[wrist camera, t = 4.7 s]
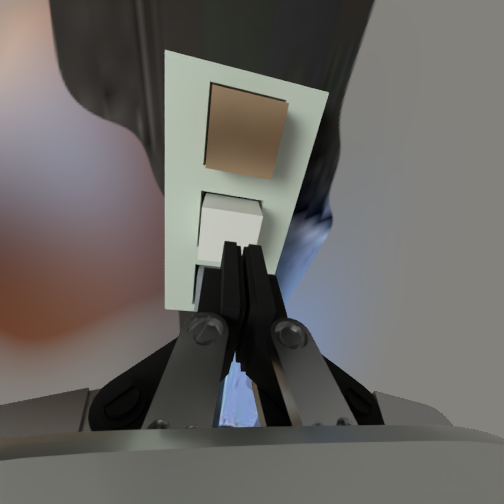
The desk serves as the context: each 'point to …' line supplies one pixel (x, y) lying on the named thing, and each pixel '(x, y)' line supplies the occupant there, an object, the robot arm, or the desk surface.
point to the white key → (227, 224)
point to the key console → (203, 179)
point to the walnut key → (244, 132)
